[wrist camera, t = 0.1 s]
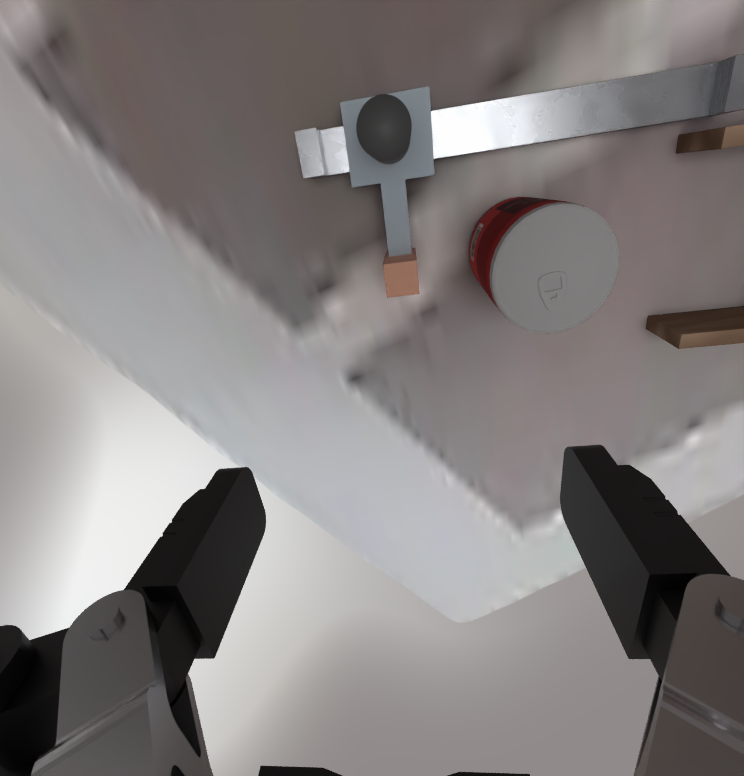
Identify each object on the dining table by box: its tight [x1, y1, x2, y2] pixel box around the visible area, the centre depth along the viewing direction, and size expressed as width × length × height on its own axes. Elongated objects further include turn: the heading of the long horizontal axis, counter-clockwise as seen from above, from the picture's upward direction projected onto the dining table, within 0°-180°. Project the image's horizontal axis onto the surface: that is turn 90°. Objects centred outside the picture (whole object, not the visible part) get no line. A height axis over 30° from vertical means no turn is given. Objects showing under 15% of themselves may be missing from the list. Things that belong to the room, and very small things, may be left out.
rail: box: [295, 54, 744, 179], centre depth 29 cm, size 3×30×4 cm, turn 98°
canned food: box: [469, 197, 619, 334], centre depth 30 cm, size 8×8×11 cm
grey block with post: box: [340, 86, 435, 298], centre depth 29 cm, size 13×6×11 cm, turn 8°
